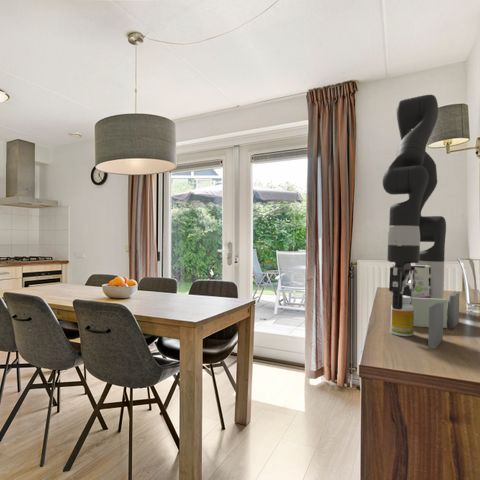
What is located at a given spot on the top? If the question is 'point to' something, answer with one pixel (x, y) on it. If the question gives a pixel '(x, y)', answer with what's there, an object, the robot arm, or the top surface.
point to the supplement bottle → (403, 318)
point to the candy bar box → (421, 281)
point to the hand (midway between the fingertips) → (402, 306)
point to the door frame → (437, 319)
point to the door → (426, 310)
